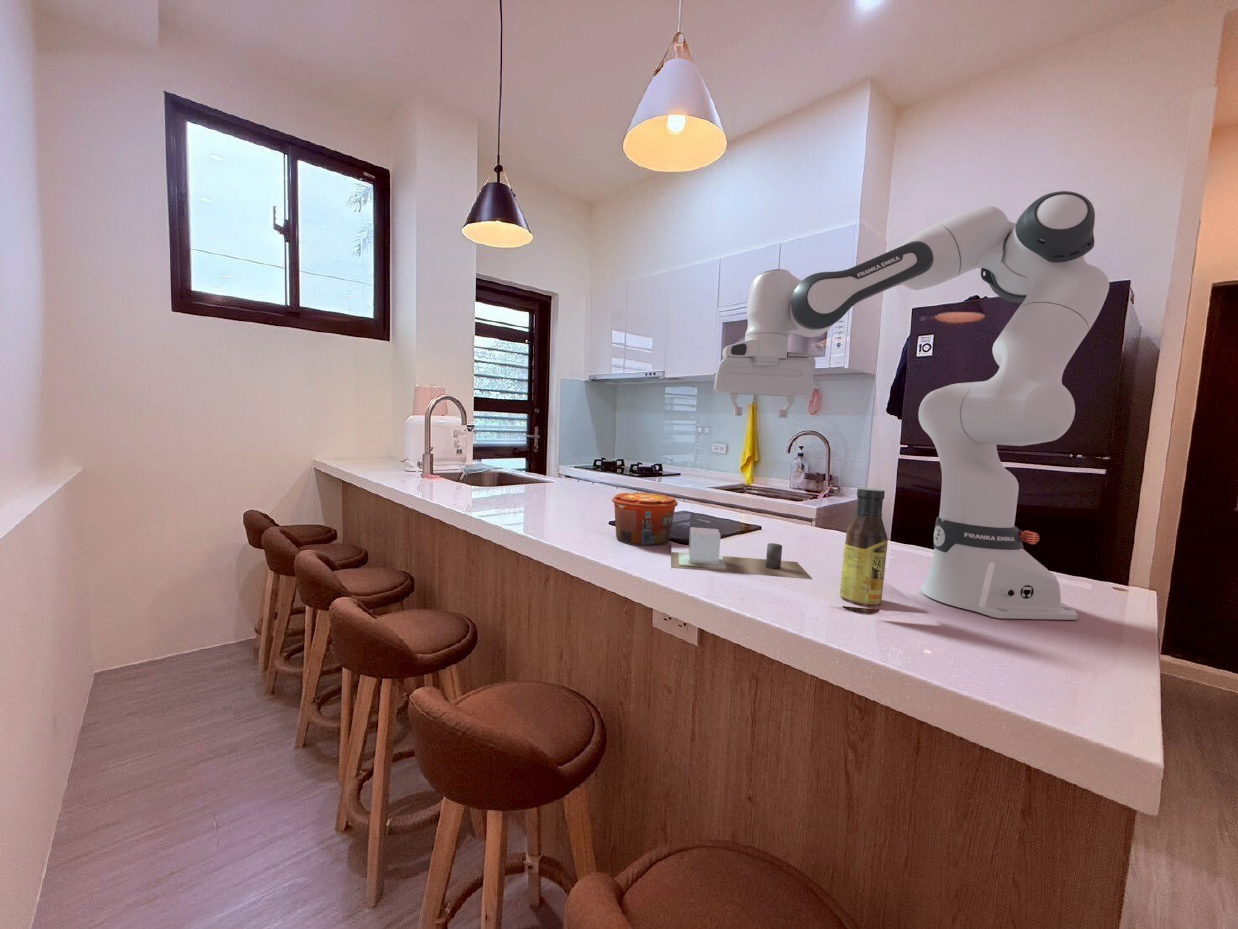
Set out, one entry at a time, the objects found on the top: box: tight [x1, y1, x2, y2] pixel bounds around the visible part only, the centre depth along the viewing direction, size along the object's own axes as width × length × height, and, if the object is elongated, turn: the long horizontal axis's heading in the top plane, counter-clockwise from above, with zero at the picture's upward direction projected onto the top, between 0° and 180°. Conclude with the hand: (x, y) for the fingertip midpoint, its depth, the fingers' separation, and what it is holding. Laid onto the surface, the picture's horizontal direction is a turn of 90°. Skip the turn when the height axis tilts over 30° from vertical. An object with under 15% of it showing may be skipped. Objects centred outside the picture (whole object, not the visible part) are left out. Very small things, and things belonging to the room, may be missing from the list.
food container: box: [611, 492, 679, 547], centre depth 126 cm, size 16×16×11 cm
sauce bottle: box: [839, 487, 889, 615], centre depth 84 cm, size 6×6×20 cm
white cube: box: [688, 526, 721, 565], centre depth 103 cm, size 6×6×6 cm
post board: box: [670, 542, 813, 580], centre depth 102 cm, size 26×12×6 cm, turn 84°
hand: (760, 416), depth 110 cm, fingers open, 8 cm apart
